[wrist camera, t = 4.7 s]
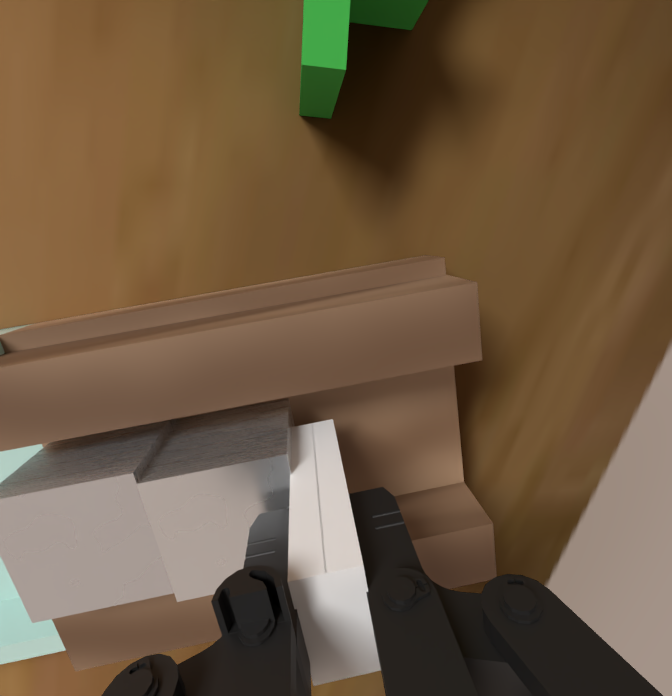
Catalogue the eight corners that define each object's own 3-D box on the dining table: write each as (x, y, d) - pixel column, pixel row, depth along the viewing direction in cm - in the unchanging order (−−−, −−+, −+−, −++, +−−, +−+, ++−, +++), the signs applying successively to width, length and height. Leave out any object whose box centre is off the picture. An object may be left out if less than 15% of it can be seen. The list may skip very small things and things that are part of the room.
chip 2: (178, 418, 15) (136, 483, 11) (288, 398, 15) (286, 454, 11) (205, 512, 16) (177, 601, 12) (308, 492, 16) (312, 572, 12)
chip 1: (62, 432, 14) (-25, 503, 10) (175, 410, 14) (132, 473, 11) (98, 526, 15) (32, 623, 11) (204, 505, 16) (174, 593, 12)
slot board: (35, 323, 15) (-69, 357, 11) (426, 255, 16) (475, 261, 12) (131, 579, 18) (81, 683, 14) (451, 512, 19) (497, 591, 15)
